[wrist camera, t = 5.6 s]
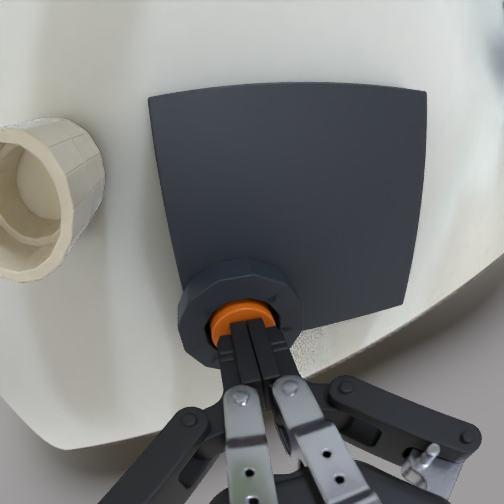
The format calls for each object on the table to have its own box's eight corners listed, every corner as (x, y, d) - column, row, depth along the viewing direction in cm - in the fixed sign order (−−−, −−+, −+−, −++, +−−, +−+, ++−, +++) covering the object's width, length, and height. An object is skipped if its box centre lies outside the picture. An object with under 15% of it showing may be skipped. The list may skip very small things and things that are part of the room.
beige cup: (27, 239, 13) (-16, 290, 9) (0, 137, 11) (-60, 159, 6) (119, 219, 14) (93, 271, 10) (97, 102, 11) (52, 105, 7)
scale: (190, 335, 18) (193, 378, 15) (143, 100, 12) (128, 99, 9) (387, 294, 20) (414, 324, 17) (405, 89, 14) (448, 94, 11)
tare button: (213, 337, 16) (217, 361, 14) (203, 292, 15) (206, 315, 13) (268, 327, 16) (277, 350, 15) (265, 281, 15) (275, 302, 13)
